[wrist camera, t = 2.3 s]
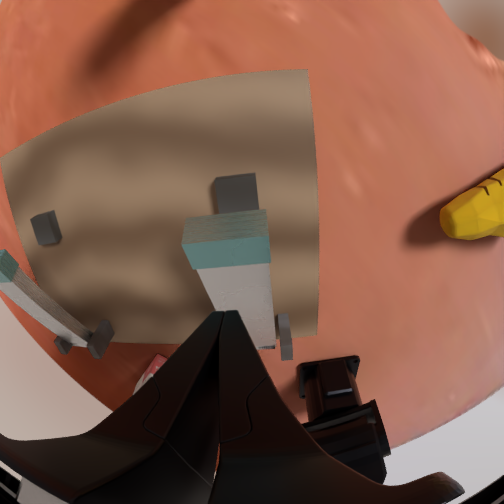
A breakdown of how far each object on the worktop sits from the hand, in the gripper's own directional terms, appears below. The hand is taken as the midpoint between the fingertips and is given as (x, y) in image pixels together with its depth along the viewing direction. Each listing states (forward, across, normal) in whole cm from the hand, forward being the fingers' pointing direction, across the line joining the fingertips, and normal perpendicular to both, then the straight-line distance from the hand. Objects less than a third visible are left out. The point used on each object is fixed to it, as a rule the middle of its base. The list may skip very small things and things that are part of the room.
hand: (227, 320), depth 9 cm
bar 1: (+6, +16, +3) cm, 17 cm away
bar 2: (+6, 0, +3) cm, 7 cm away
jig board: (+12, +8, +1) cm, 14 cm away
